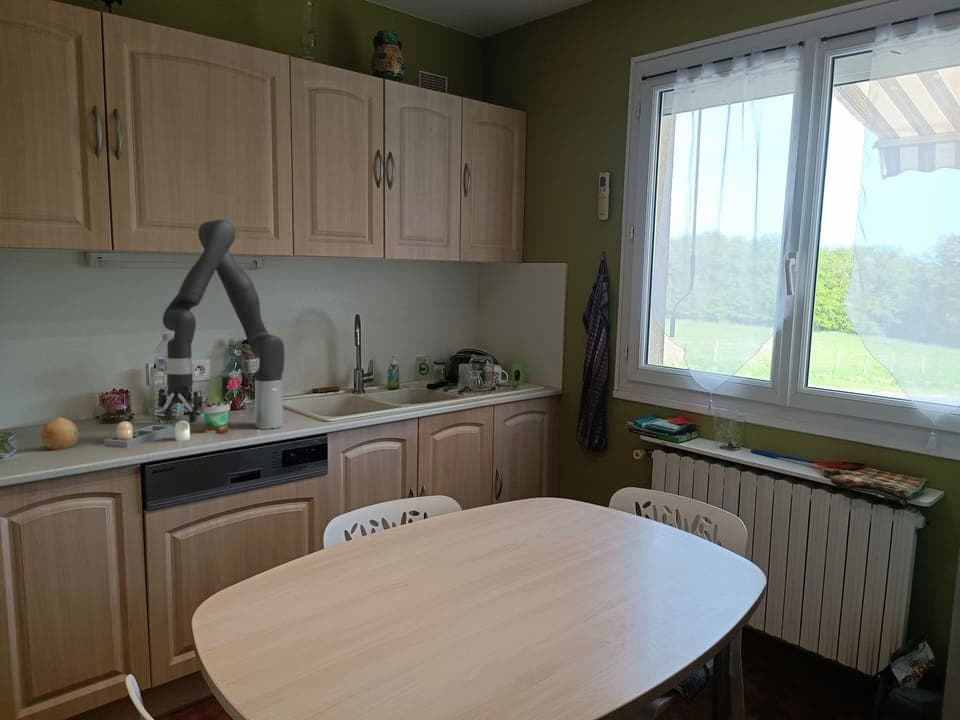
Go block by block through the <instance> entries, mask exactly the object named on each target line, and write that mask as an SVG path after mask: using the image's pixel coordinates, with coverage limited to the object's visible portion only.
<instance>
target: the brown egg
mask: <svg viewBox="0 0 960 720" xmlns="http://www.w3.org/2000/svg"><path fill="white" fill-rule="evenodd" d="M133 431H134V430H133V424H132V423H130V422H129V421H125V420H123V421H121V422H119V423H118V424H117V426H116V436H117V440H124V441H127V440H130V439H133Z"/></svg>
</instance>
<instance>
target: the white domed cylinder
mask: <svg viewBox="0 0 960 720" xmlns="http://www.w3.org/2000/svg"><path fill="white" fill-rule="evenodd" d="M174 431H175V434H174V440H175V441H178V442H182V441H183V442H184V441H189V440H191V430H190V423H189V422H188V421H185V420H180V421H177V422H176V424H175V425H174Z"/></svg>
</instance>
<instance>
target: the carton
mask: <svg viewBox="0 0 960 720" xmlns="http://www.w3.org/2000/svg"><path fill="white" fill-rule="evenodd" d="M172 435H175V425H174V426H172V425H171V426H170V425H157V424H156V425H155V424H152V425H149V426H144V427H141V428H139V429H135V430H133V439H130V440H127V441H124V440H117V435H116V436H112V437H109V438H106V439H104V443H102V444H99V445H97V447H103V448H113V449H114V448H117V449H127V450H131V449H134V448H138V447H141V446H143V445H146V444H149V443H152V442H154V441H159V440H160V439H164V438H166V437H170V436H172Z"/></svg>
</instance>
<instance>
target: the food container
mask: <svg viewBox="0 0 960 720" xmlns="http://www.w3.org/2000/svg"><path fill="white" fill-rule="evenodd" d="M230 410H231V407H230V404H229V402H227V401H224V400H223V401H221V400H217V403H215V404H212V405H210V406H204V407H203V414H204V427H205V434H216V435H218V434H221V435H224V434H223V433H225V434H226V432H227V433H228V423H229V422H228V421H229V411H230Z"/></svg>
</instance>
